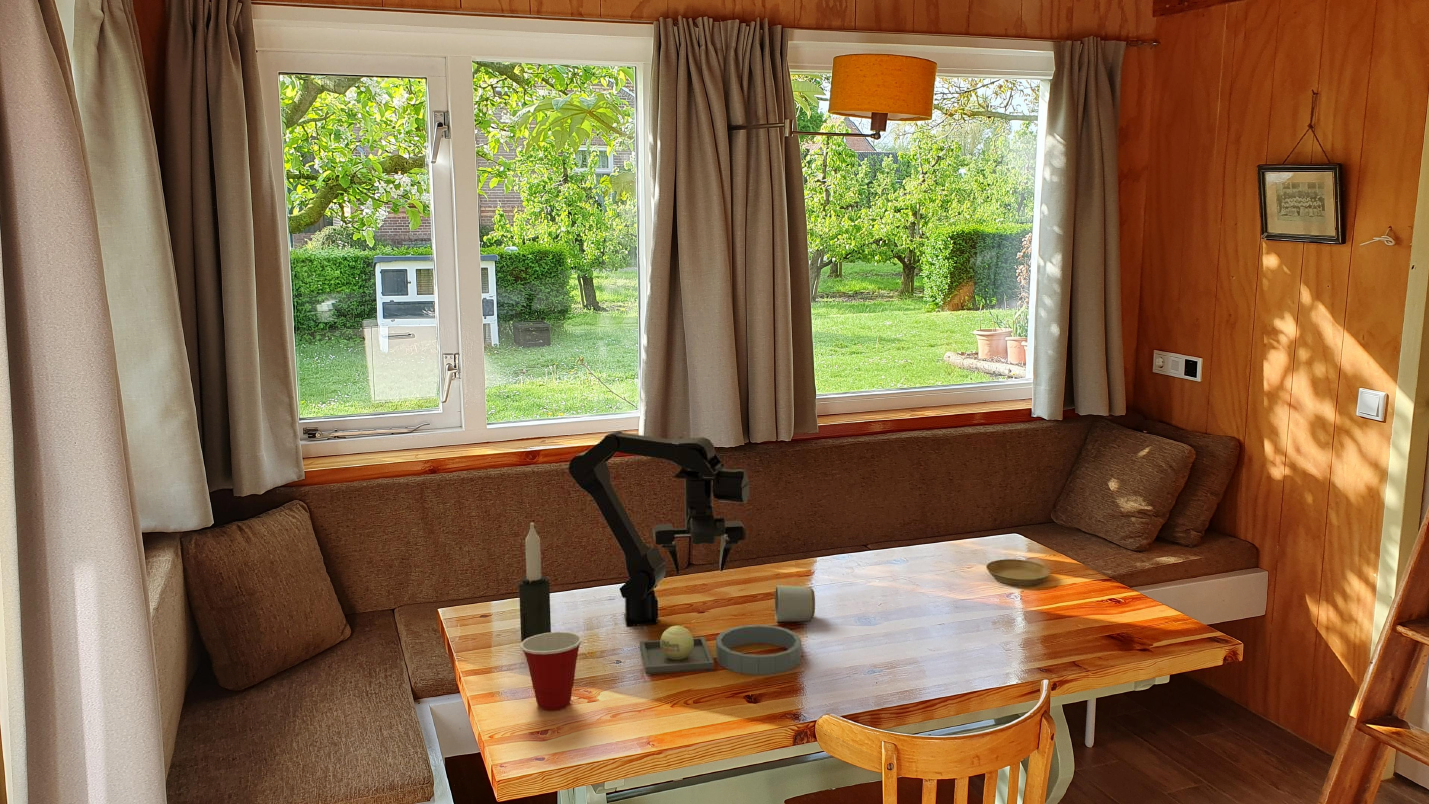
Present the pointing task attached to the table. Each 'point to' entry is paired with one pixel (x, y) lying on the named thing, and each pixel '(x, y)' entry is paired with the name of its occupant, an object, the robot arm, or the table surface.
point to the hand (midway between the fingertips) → (699, 572)
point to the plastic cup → (552, 667)
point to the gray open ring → (758, 662)
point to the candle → (534, 592)
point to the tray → (662, 664)
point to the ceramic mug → (794, 603)
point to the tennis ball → (676, 642)
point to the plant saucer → (1018, 572)
